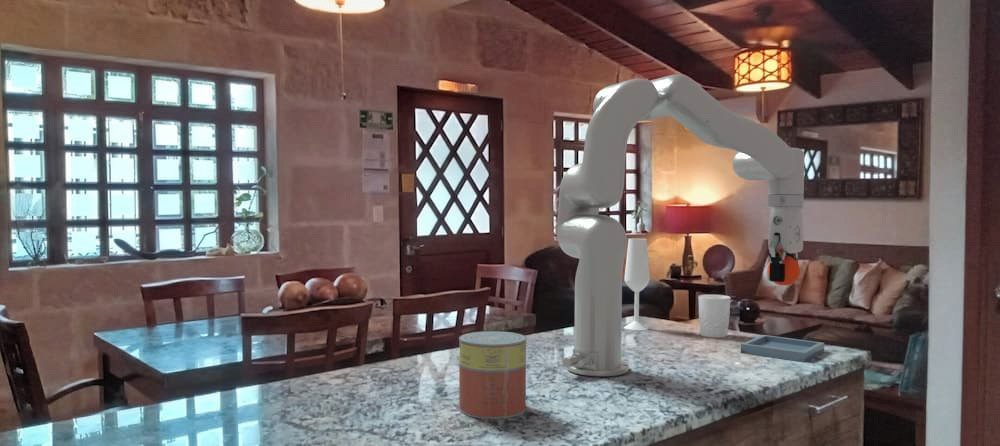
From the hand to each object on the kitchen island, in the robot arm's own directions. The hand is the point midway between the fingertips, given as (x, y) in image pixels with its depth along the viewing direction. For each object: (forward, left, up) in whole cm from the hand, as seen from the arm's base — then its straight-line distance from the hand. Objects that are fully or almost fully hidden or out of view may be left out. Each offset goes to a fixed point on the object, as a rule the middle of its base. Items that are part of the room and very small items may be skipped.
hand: (783, 279), depth 163 cm
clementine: (0, 0, -2) cm, 2 cm away
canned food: (-76, +22, -17) cm, 81 cm away
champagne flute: (+4, +40, -17) cm, 44 cm away
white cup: (+8, +20, -17) cm, 27 cm away
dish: (0, 0, -17) cm, 17 cm away
